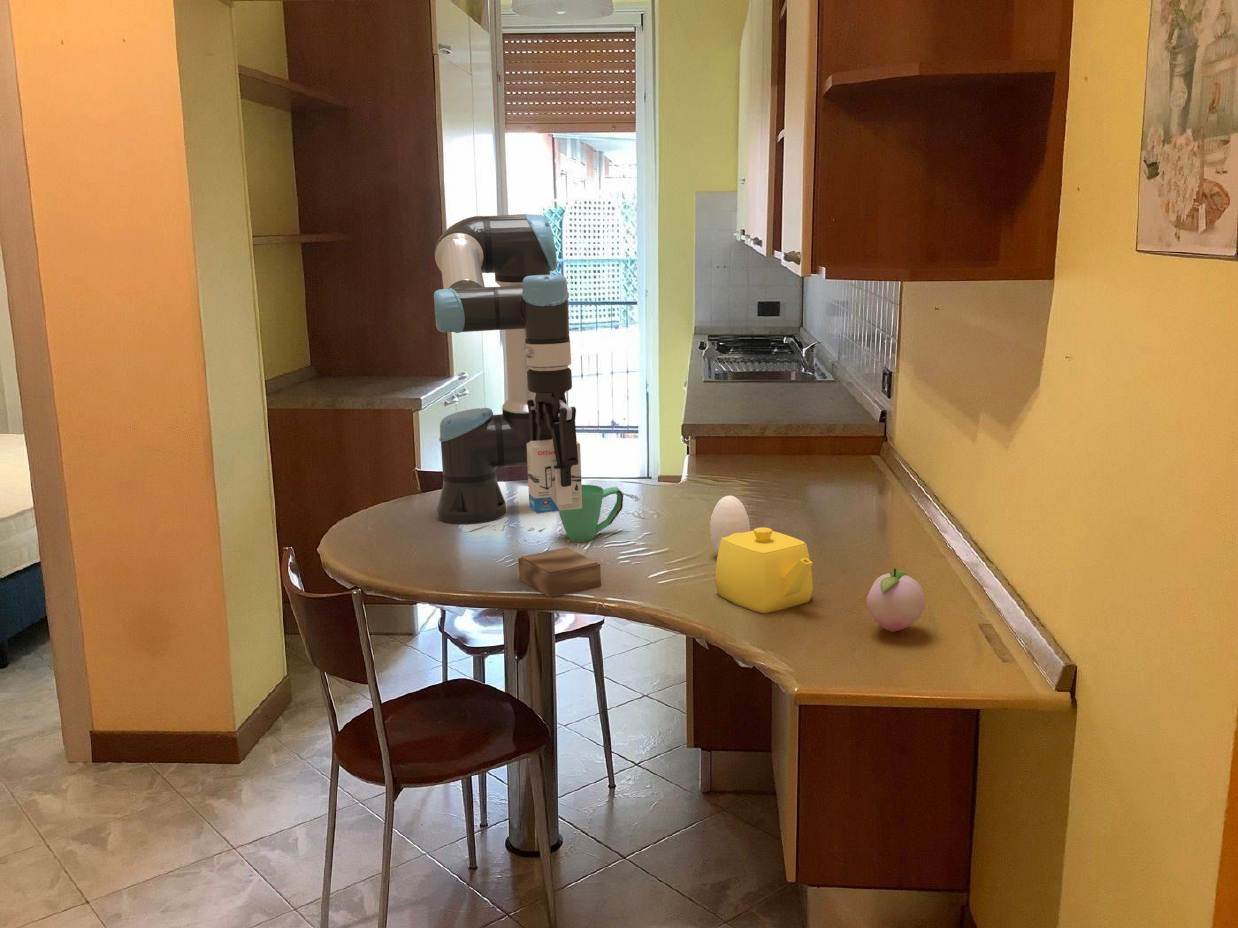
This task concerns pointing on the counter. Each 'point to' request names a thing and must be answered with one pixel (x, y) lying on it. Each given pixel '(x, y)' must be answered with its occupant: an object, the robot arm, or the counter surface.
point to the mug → (590, 513)
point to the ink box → (549, 478)
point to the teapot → (764, 570)
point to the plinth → (559, 572)
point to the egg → (728, 519)
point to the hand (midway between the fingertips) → (555, 500)
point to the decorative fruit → (896, 600)
